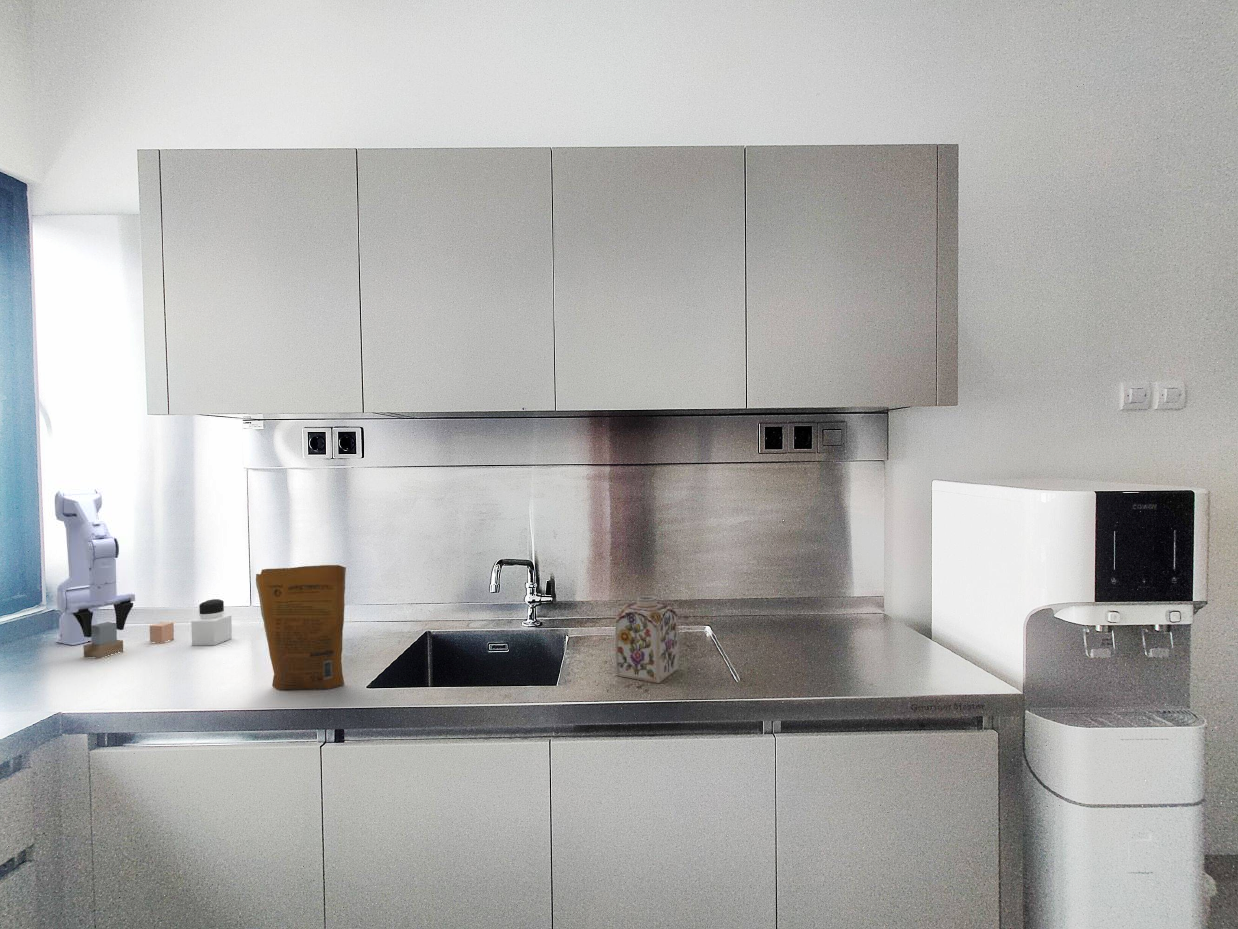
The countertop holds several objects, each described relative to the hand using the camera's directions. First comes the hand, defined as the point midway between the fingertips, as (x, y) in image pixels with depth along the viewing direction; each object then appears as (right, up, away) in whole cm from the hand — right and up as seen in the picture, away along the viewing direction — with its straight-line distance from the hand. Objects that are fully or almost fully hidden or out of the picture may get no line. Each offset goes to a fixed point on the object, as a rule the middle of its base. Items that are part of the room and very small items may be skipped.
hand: (104, 633), depth 174 cm
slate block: (0, -3, 0) cm, 3 cm away
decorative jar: (+147, -4, -22) cm, 148 cm away
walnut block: (0, -6, 0) cm, 6 cm away
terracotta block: (+7, -6, +12) cm, 15 cm away
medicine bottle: (+23, -6, +11) cm, 26 cm away
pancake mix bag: (+68, -5, -28) cm, 74 cm away
